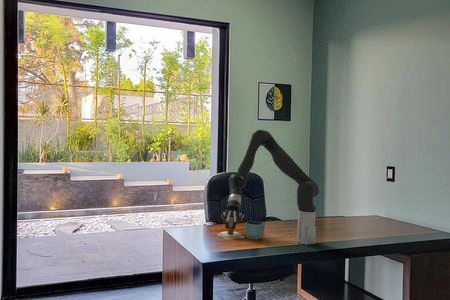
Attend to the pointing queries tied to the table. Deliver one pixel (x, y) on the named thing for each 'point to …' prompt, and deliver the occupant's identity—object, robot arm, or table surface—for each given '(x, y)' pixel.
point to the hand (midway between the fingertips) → (230, 228)
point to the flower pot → (254, 229)
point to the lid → (230, 230)
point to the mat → (231, 238)
